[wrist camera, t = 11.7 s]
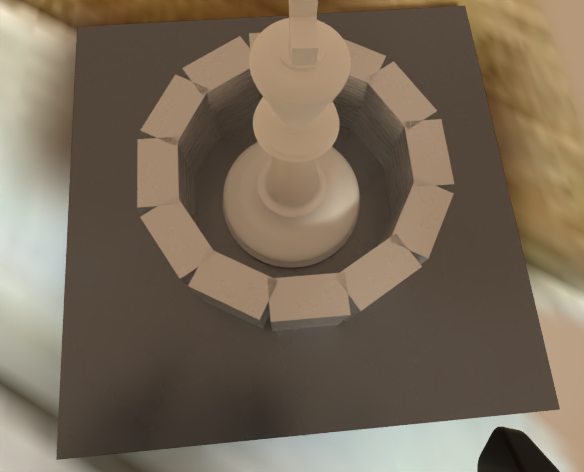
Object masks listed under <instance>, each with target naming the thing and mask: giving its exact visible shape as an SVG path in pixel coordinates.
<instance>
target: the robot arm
mask: <svg viewBox="0 0 584 472" xmlns="http://www.w3.org/2000/svg"><path fill="white" fill-rule="evenodd" d="M477 470H478V472H560V471H559V470H558V469H557V468H556V467H555V466H554V465H553V463H552V462H551V461H550V460H549V459H548V458H547V457H546V456H545V455H544V454H543V452H542V451H541V450H540V449H539V448H538V447H537V446H536V445H535V444H534V442H533V441H532V440H531V439H530V438H529V437H528V436H527V435H526V434H525V433H524V432H522V431H520V430H515V429H510V428H505V427H497V428H496V429H494V431H493V432H492V434H491V436H490V438H489V440H488V442H487V443H486V445H485V447H484V449H483V451H482V453H481V455H480V457H479V460H478V469H477Z"/></svg>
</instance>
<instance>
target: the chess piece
mask: <svg viewBox="0 0 584 472" xmlns="http://www.w3.org/2000/svg"><path fill="white" fill-rule="evenodd" d="M317 7H318V0H289V18H286V19H283V20H280V21H277V22H275V23H273V24H271V25H270V26H268V27H267V28H265V29H264V30H263V31H262V32H261V33H260V34H259V35H258V37H257V38H256V40H255V41H254V43H253V45H252V48H251V51H250V56H249V68H250V73H251V76H252V79H253V81H254V83H255V85H256V87H257V88H258V90H259V91H260V93H261V94H262V96H263V98H262V99H261V100H260V102H259V104H258V106H257V108H256V110H255V113H254V117H253V130H254V134H255V137H256V139H257V141H258V142H256V143H255V144H253V145H251V146H250V147H249V148H247V149H246V150H245V151H244V152H243V153H242V154H241V155H240V156H239V157H238V158H237V159H236V161H235V162H234V163H233V165H232V167H231V168H230V170H229V172H228V175H227V177H226V180H225V184H224V190H223V213H224V218H225V221H226V224H227V227H228V229H229V231H230V233H231V235H232V236H233V238H234V239H235V241H236V242H237V243H238V244H239V245H240V246H241V247H242V248H243V249H244V250H245V251H246V252H247V253H249V254H250V255H251V256H253V257H254V258H256V259H258V260H260V261H262V262H264V263H267V264H270V265H274V266H278V267H285V268H298V267H305V266H310V265H313V264H316V263H319V262H321V261H323V260H325V259H327V258H328V257H330V256H332V255H333V254H334V253H336V252H337V251H338V250H339V249H340V248H341V247H342V246H343V245H344V244H345V243H346V241H347V240H348V239H349V237H350V235H351V234H352V232H353V230H354V228H355V225H356V222H357V219H358V214H359V202H360V194H359V187H358V182H357V179H356V176H355V174H354V172H353V170H352V168H351V166H350V165H349V163H348V162H347V160H346V159H345V158H344V157H343V156H342V155H341V154H340V153H339V152H338V151H337V150H336V149H335V148H333V147H332V145H333V144H334V142H335V141H336V138H337V136H338V132H339V116H338V113H337V110H336V107H335V105H334V103H333V102H332V101H333V100H334V99H335V97H336V96H337V95H338V94H339V93H340V91H341V90H342V89H343V87H344V85H345V84H346V82H347V79H348V77H349V73H350V68H351V58H350V53H349V50H348V47H347V45H346V43H345V41H344V40H343V38H342V37H341V36H340V34H339V33H338V32H337V31H336V30H334V29H333V28H332V27H330V26H329V25H327V24H325V23H323V22H321V21H319V20H317Z"/></svg>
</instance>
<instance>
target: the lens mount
mask: <svg viewBox="0 0 584 472" xmlns="http://www.w3.org/2000/svg"><path fill="white" fill-rule="evenodd" d="M286 18H289V15H285V16H267V17H248V18H230V19H211V20H193V21H175V22H156V23H138V24H119V25H101V26H83V27H77V45H76V65H75V86H74V107H73V128H72V149H71V169H70V190H69V211H68V232H67V253H66V274H65V294H64V315H63V336H62V357H61V378H60V398H59V419H58V440H57V460H58V459H68V458H78V457H88V456H98V455H108V454H118V453H128V452H138V451H148V450H158V449H168V448H178V447H188V446H198V445H208V444H218V443H228V442H238V441H248V440H258V439H268V438H278V437H288V436H298V435H308V434H318V433H328V432H338V431H348V430H358V429H368V428H378V427H388V426H398V425H408V424H418V423H428V422H438V421H448V420H458V419H468V418H478V417H488V416H498V415H508V414H518V413H528V412H538V411H548V410H558V409H560V408H559V404H558V400H557V396H556V391H555V387H554V383H553V378H552V374H551V370H550V366H549V362H548V357H547V353H546V349H545V345H544V340H543V336H542V332H541V327H540V323H539V319H538V315H537V310H536V306H535V302H534V297H533V293H532V289H531V285H530V280H529V276H528V272H527V268H526V263H525V259H524V255H523V251H522V246H521V242H520V238H519V234H518V229H517V225H516V221H515V217H514V212H513V208H512V204H511V200H510V195H509V191H508V187H507V182H506V178H505V174H504V170H503V165H502V161H501V157H500V153H499V148H498V144H497V140H496V136H495V131H494V127H493V123H492V119H491V114H490V110H489V106H488V102H487V97H486V93H485V89H484V85H483V80H482V76H481V72H480V68H479V63H478V59H477V55H476V50H475V46H474V42H473V38H472V33H471V29H470V25H469V21H468V16H467V12H466V8H465V6H451V7H432V8H414V9H395V10H377V11H359V12H340V13H322V14H317V20H319V21H321V22H323V23H325V24H327V25H329V26H330V27H332V28H333V29H334V30H336V31H337V32H338V33H339V34H340V36H341V37H342V38H343V40H344V41H345V43H346V45H347V47H348V50H349V53H350V58H351V68H350V73H349V77H348V79H347V82H346V84H345V85H344V87H343V89H342V90H341V91H340V93H339V94H338V95H337V96H336V97H335V99H334V100H333V101H332V102H333V103H334V105H335V107H336V110H337V113H338V116H339V132H338V136H337V138H336V141H335V142H334V144H333V145H332V147H333V148H335V149H336V150H337V151H338V152H339V153H340V154H341V155H342V156H343V157H344V158H345V159H346V160H347V162H348V163H349V165H350V166H351V168H352V170H353V172H354V174H355V176H356V179H357V182H358V187H359V194H360V202H359V214H358V219H357V222H356V225H355V228H354V230H353V232H352V234H351V235H350V237H349V239H348V240H347V241H346V243H345V244H344V245H343V246H342V247H341V248H340V249H339V250H338V251H337V252H336V253H334V254H333V255H332V256H330V257H328V258H327V259H325V260H323V261H321V262H319V263H316V264H313V265H310V266H305V267H298V268H285V267H278V266H274V265H270V264H267V263H264V262H262V261H260V260H258V259H256V258H254V257H253V256H251V255H250V254H249V253H247V252H246V251H245V250H244V249H243V248H242V247H241V246H240V245H239V244H238V243H237V242H236V241H235V239H234V238H233V236H232V235H231V233H230V231H229V229H228V227H227V224H226V221H225V218H224V213H223V190H224V184H225V180H226V177H227V175H228V172H229V170H230V168H231V167H232V165H233V163H234V162H235V161H236V159H237V158H238V157H239V156H240V155H241V154H242V153H243V152H244V151H245V150H246V149H247V148H249V147H250V146H251V145H253V144H255V143H256V142H258V141H257V139H256V137H255V134H254V130H253V117H254V113H255V110H256V108H257V106H258V104H259V102H260V100H261V99H262V98H263V96H262V94H261V93H260V91H259V90H258V88H257V87H256V85H255V83H254V81H253V79H252V76H251V73H250V68H249V56H250V51H251V48H252V45H253V43H254V41H255V40H256V38H257V37H258V35H259V34H260V33H261V32H262V31H263V30H264V29H265V28H267V27H268V26H270V25H271V24H273V23H275V22H277V21H280V20H283V19H286Z"/></svg>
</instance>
